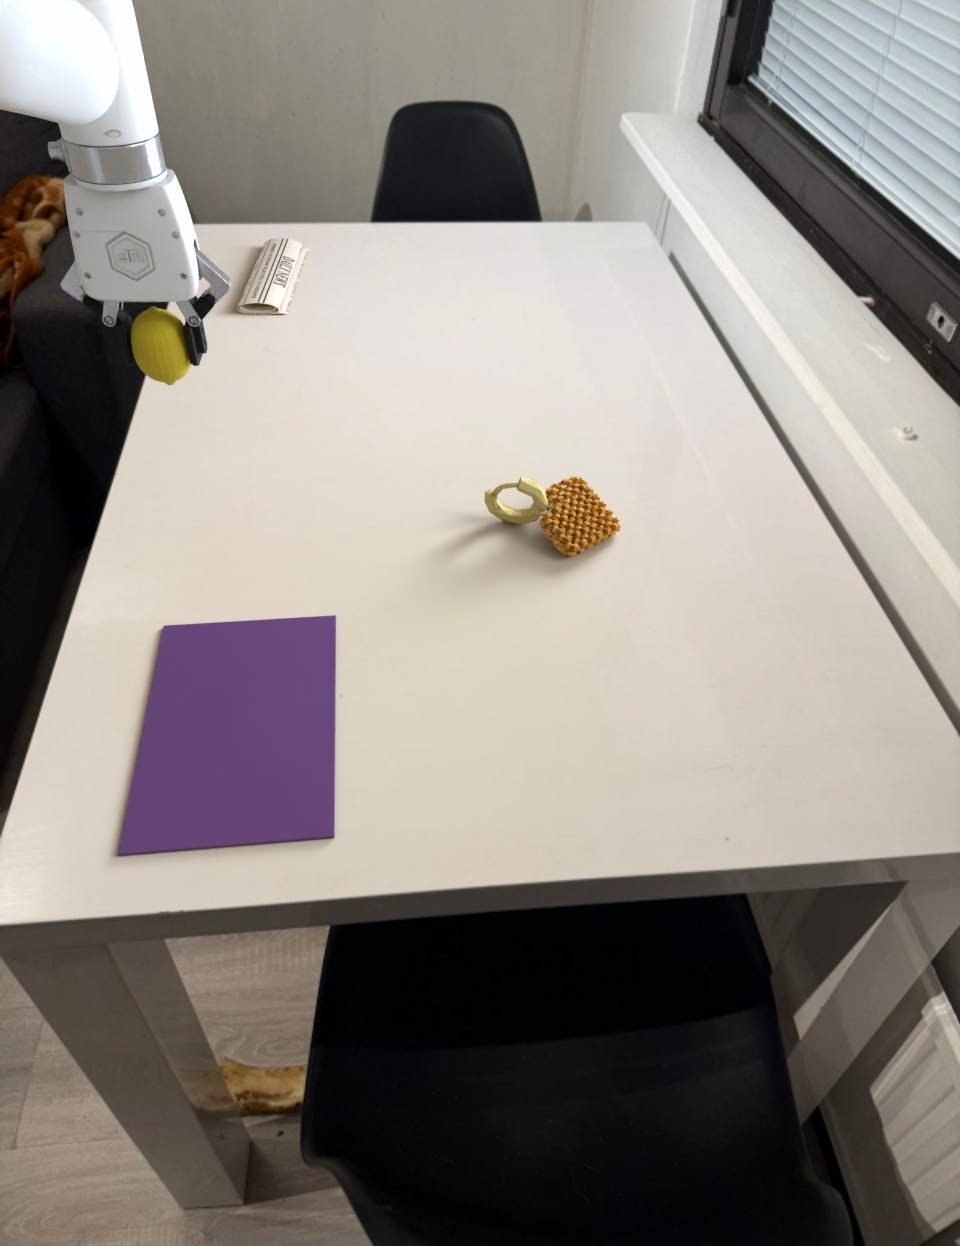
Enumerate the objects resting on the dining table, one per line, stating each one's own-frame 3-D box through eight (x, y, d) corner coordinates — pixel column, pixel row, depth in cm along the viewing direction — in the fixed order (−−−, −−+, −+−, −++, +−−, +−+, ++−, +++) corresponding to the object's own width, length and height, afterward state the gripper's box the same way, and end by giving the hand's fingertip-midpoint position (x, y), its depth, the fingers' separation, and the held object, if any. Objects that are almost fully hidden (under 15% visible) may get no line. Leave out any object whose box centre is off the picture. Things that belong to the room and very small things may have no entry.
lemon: (192, 399, 85) (174, 321, 79) (135, 397, 85) (113, 319, 79) (205, 371, 89) (189, 295, 83) (150, 370, 89) (131, 293, 83)
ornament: (634, 470, 92) (499, 434, 91) (628, 548, 87) (484, 511, 85) (613, 509, 98) (485, 475, 96) (606, 584, 92) (470, 549, 91)
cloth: (334, 838, 66) (334, 836, 66) (118, 856, 65) (117, 854, 64) (336, 617, 83) (335, 615, 83) (164, 627, 81) (163, 625, 81)
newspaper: (266, 248, 143) (264, 237, 142) (309, 249, 143) (307, 238, 142) (238, 314, 126) (236, 302, 125) (287, 315, 126) (285, 303, 125)
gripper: (-5, 171, 69) (64, 378, 81) (215, 174, 70) (249, 378, 83) (24, 142, 74) (84, 341, 87) (228, 145, 75) (258, 341, 88)
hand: (164, 357), depth 85 cm, fingers closed on lemon, 5 cm apart
